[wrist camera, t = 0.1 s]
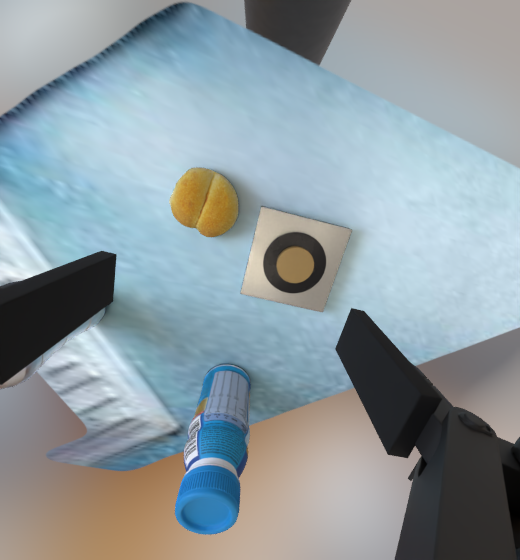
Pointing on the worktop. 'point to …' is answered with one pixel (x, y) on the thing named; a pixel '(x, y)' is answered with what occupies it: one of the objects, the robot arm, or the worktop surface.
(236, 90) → the worktop surface
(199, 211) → the bread roll
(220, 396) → the beverage bottle
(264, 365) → the worktop surface
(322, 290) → the push button
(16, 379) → the plastic bottle
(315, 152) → the worktop surface
